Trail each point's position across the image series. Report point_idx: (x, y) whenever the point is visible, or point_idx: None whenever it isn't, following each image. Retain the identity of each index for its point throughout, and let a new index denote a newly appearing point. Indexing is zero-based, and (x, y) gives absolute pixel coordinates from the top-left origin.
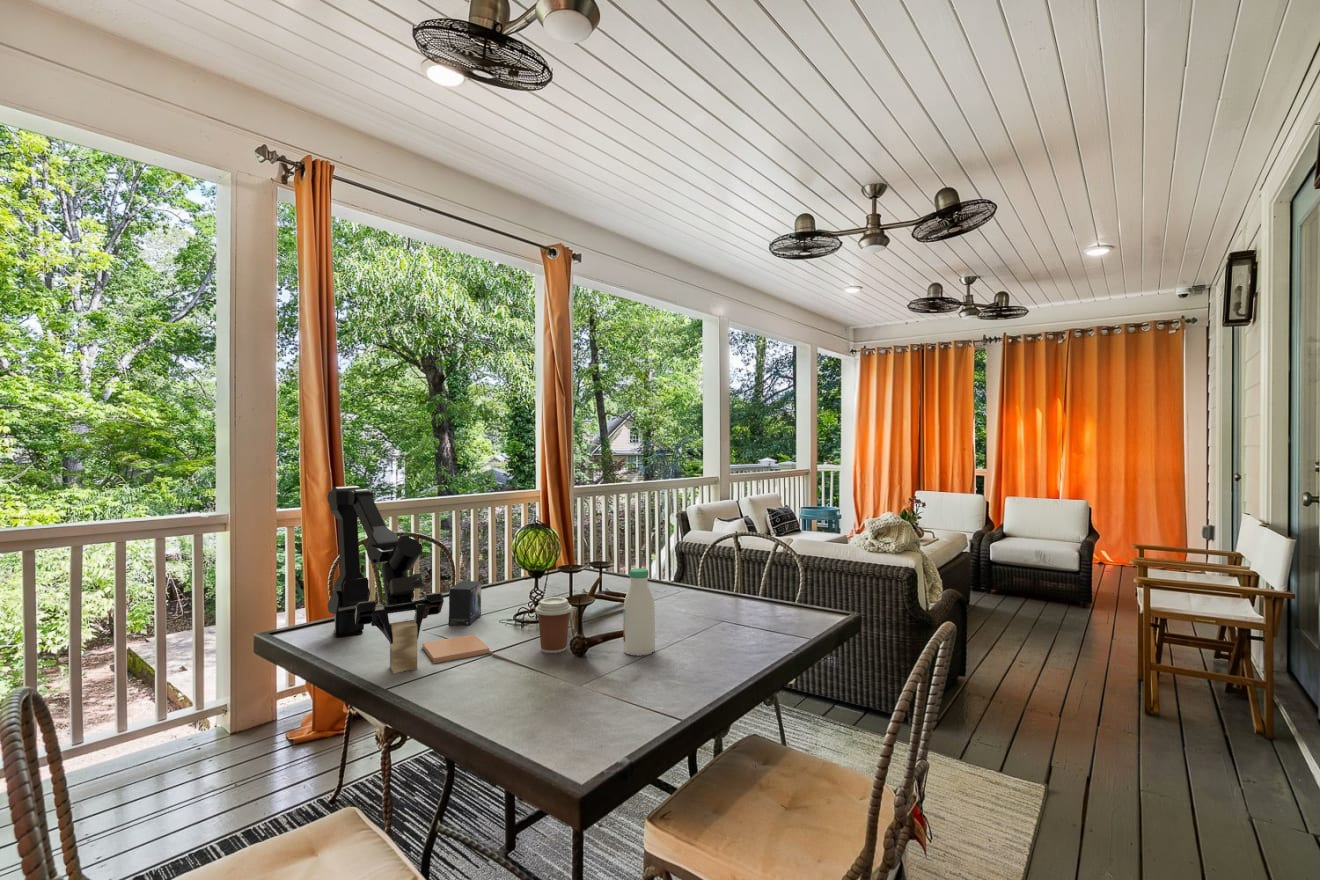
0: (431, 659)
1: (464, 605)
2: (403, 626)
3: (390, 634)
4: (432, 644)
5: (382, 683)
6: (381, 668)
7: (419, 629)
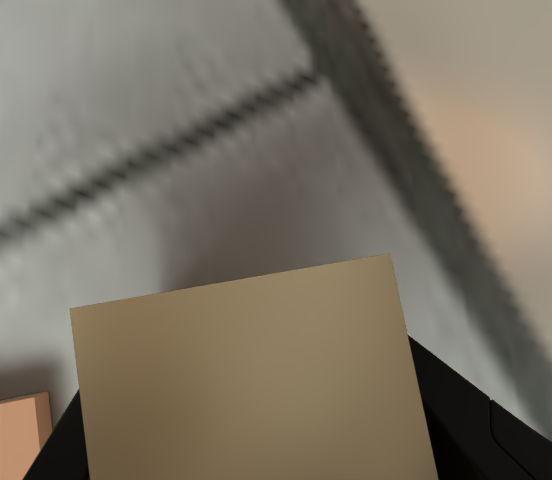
0: None
1: None
2: (266, 317)
3: None
4: None
5: (343, 159)
6: None
7: (62, 416)
